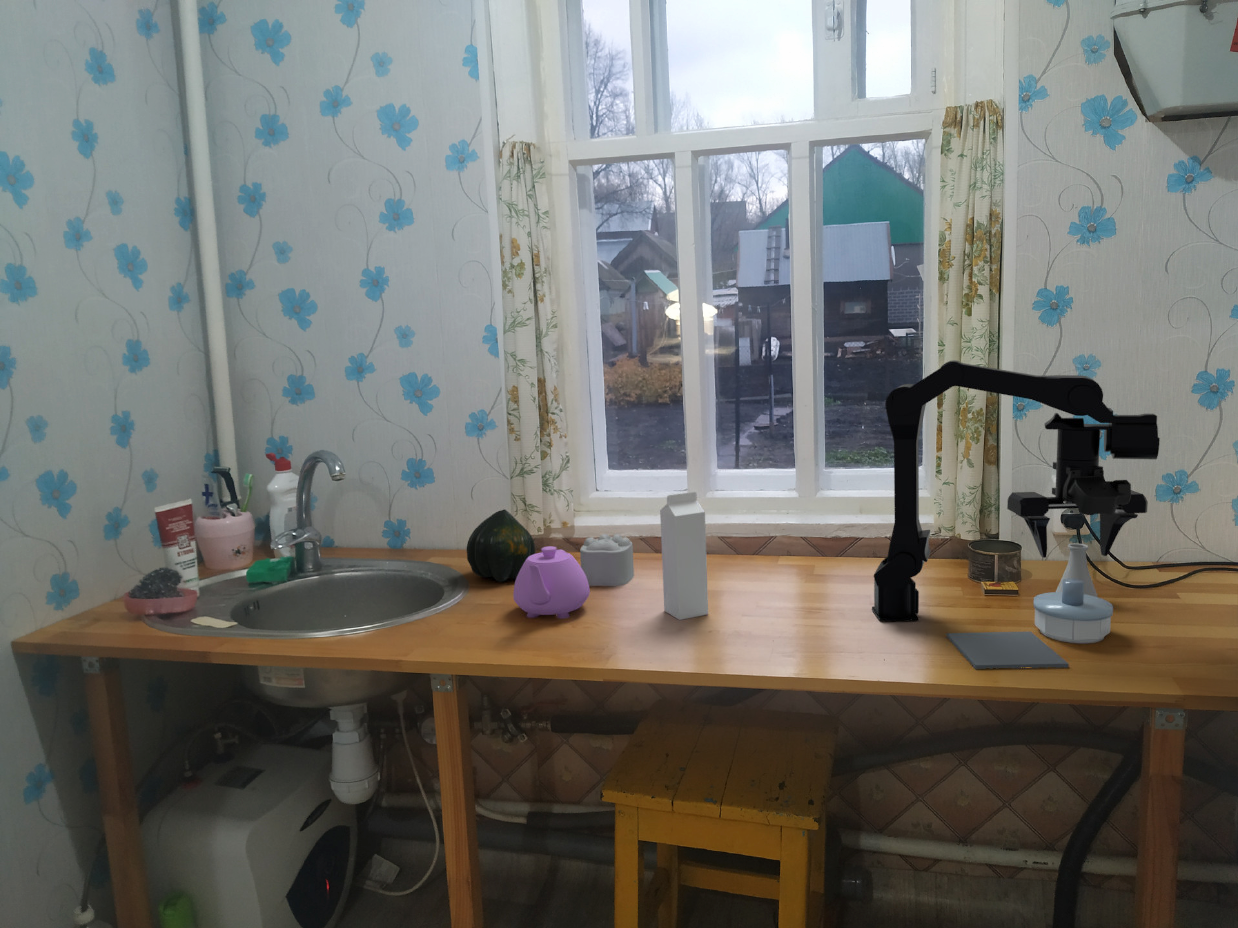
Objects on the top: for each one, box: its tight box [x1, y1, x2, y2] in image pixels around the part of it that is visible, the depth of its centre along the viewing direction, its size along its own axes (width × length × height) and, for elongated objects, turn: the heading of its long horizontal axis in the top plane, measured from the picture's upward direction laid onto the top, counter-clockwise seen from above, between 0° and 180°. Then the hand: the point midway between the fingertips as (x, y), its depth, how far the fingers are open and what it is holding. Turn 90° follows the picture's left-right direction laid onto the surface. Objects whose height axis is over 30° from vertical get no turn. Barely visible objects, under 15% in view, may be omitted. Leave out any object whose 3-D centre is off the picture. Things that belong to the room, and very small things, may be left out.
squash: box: [466, 509, 536, 583], centre depth 178 cm, size 14×15×15 cm
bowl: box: [1034, 608, 1112, 645], centre depth 131 cm, size 10×10×4 cm
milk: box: [659, 491, 709, 621], centre depth 148 cm, size 6×6×22 cm
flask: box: [1055, 542, 1099, 598], centre depth 146 cm, size 7×7×10 cm
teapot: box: [512, 545, 591, 620], centre depth 153 cm, size 20×14×12 cm
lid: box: [1033, 579, 1114, 621], centre depth 131 cm, size 11×11×4 cm
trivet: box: [946, 630, 1070, 670], centre depth 126 cm, size 13×13×1 cm
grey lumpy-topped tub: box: [579, 533, 635, 587], centre depth 174 cm, size 10×13×9 cm
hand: (1073, 556), depth 130 cm, fingers open, 9 cm apart
